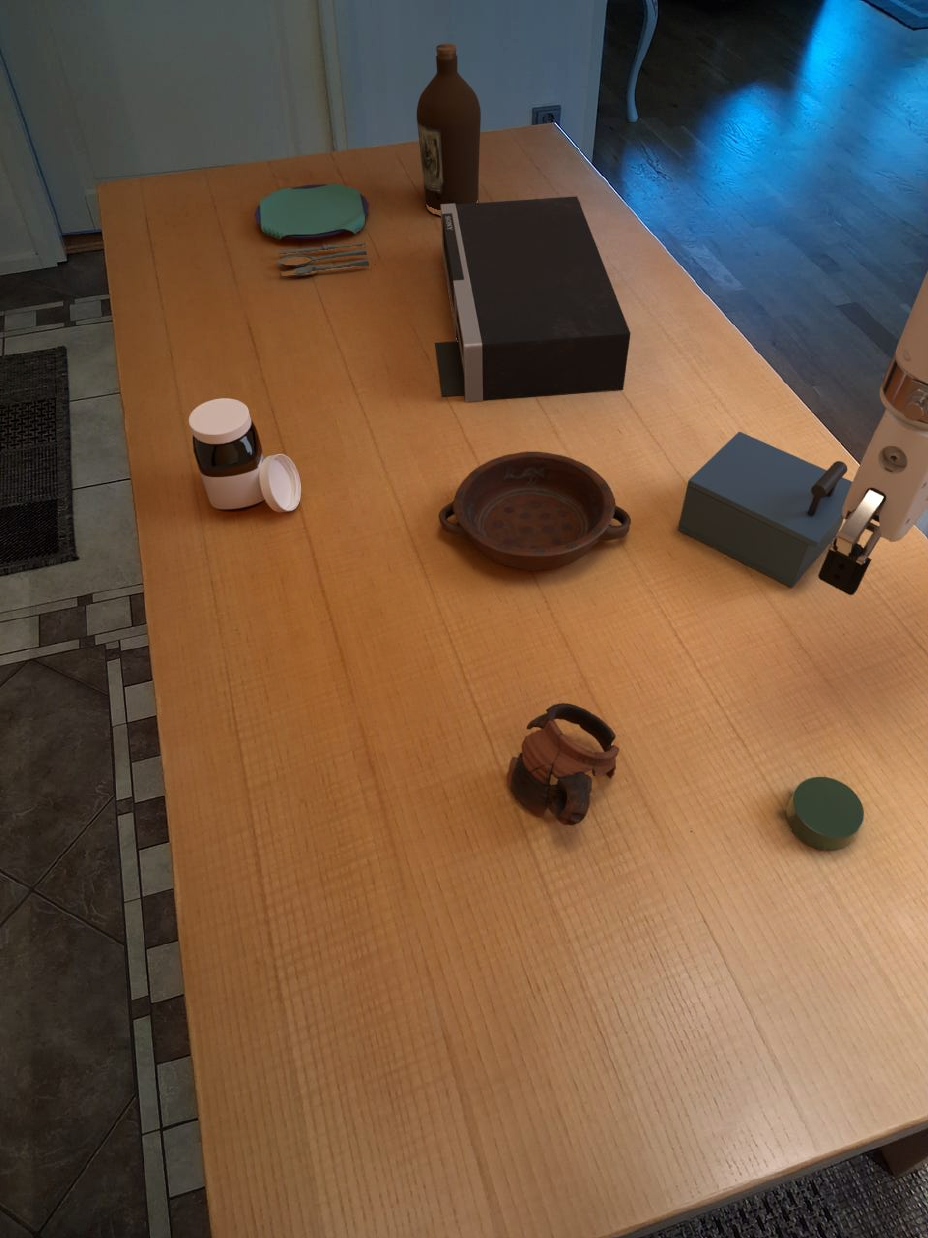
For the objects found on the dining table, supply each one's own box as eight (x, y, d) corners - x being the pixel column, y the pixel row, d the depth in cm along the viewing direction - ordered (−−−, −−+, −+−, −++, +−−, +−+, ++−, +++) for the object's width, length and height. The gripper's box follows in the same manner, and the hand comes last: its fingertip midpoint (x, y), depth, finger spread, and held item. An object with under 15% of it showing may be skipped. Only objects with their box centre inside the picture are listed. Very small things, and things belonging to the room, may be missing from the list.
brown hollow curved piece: (491, 751, 86) (527, 686, 82) (576, 770, 89) (614, 708, 86) (516, 847, 76) (559, 778, 73) (611, 864, 80) (656, 799, 76)
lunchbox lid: (862, 492, 98) (877, 456, 94) (815, 548, 93) (829, 512, 89) (737, 436, 105) (747, 400, 101) (687, 485, 99) (695, 449, 96)
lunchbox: (837, 533, 104) (855, 489, 98) (791, 588, 98) (808, 544, 93) (726, 481, 110) (737, 436, 105) (677, 529, 105) (687, 485, 100)
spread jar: (206, 473, 113) (182, 395, 104) (295, 457, 115) (279, 380, 106) (213, 537, 106) (187, 459, 97) (308, 519, 107) (291, 441, 98)
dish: (443, 481, 111) (441, 449, 107) (621, 481, 110) (626, 449, 107) (435, 584, 100) (433, 553, 96) (634, 586, 99) (640, 554, 95)
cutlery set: (364, 189, 164) (363, 176, 163) (382, 270, 145) (381, 257, 143) (255, 200, 163) (253, 187, 161) (258, 284, 143) (256, 270, 142)
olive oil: (461, 187, 164) (457, 30, 145) (493, 208, 158) (493, 48, 139) (411, 202, 161) (400, 43, 142) (441, 225, 155) (434, 63, 136)
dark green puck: (846, 790, 82) (854, 776, 80) (863, 851, 78) (872, 838, 76) (780, 789, 82) (786, 775, 80) (793, 850, 78) (801, 837, 76)
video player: (623, 390, 123) (630, 332, 116) (442, 404, 122) (439, 347, 115) (572, 247, 149) (576, 194, 142) (423, 258, 147) (420, 204, 141)
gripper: (942, 466, 58) (857, 634, 71) (1039, 352, 66) (947, 522, 79) (835, 419, 61) (772, 588, 74) (940, 316, 70) (867, 484, 83)
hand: (863, 554), depth 77 cm, fingers open, 9 cm apart
